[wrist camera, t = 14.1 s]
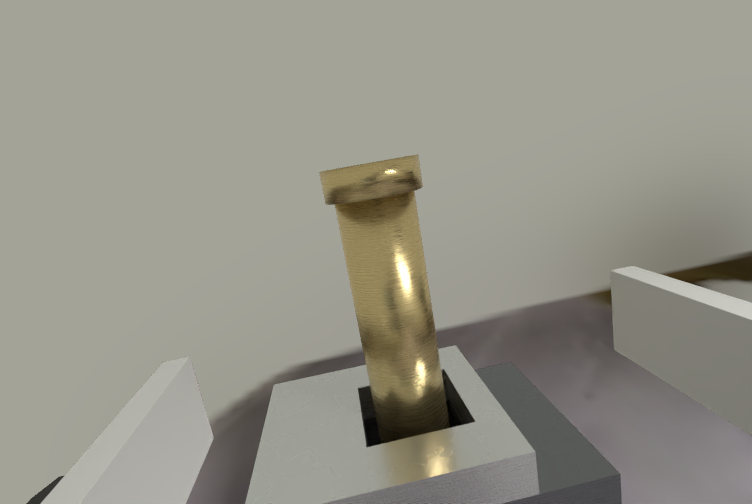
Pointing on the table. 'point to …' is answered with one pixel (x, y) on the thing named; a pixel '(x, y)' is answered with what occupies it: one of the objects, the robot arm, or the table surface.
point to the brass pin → (390, 292)
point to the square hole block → (426, 446)
